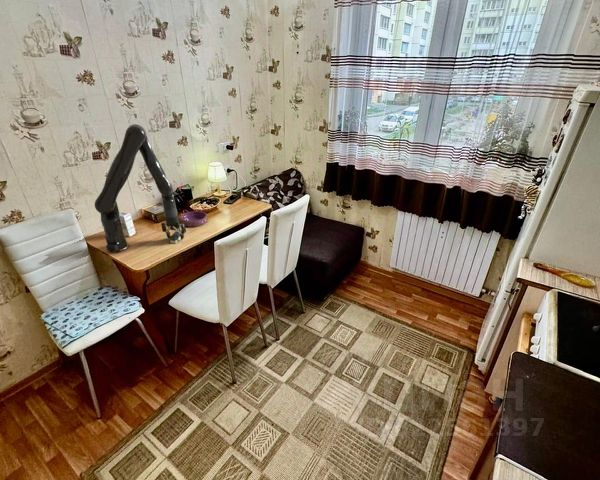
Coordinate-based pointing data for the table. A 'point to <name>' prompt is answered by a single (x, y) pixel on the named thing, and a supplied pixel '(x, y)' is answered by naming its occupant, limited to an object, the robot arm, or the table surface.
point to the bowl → (194, 218)
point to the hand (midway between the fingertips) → (175, 238)
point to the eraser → (175, 237)
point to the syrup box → (127, 224)
